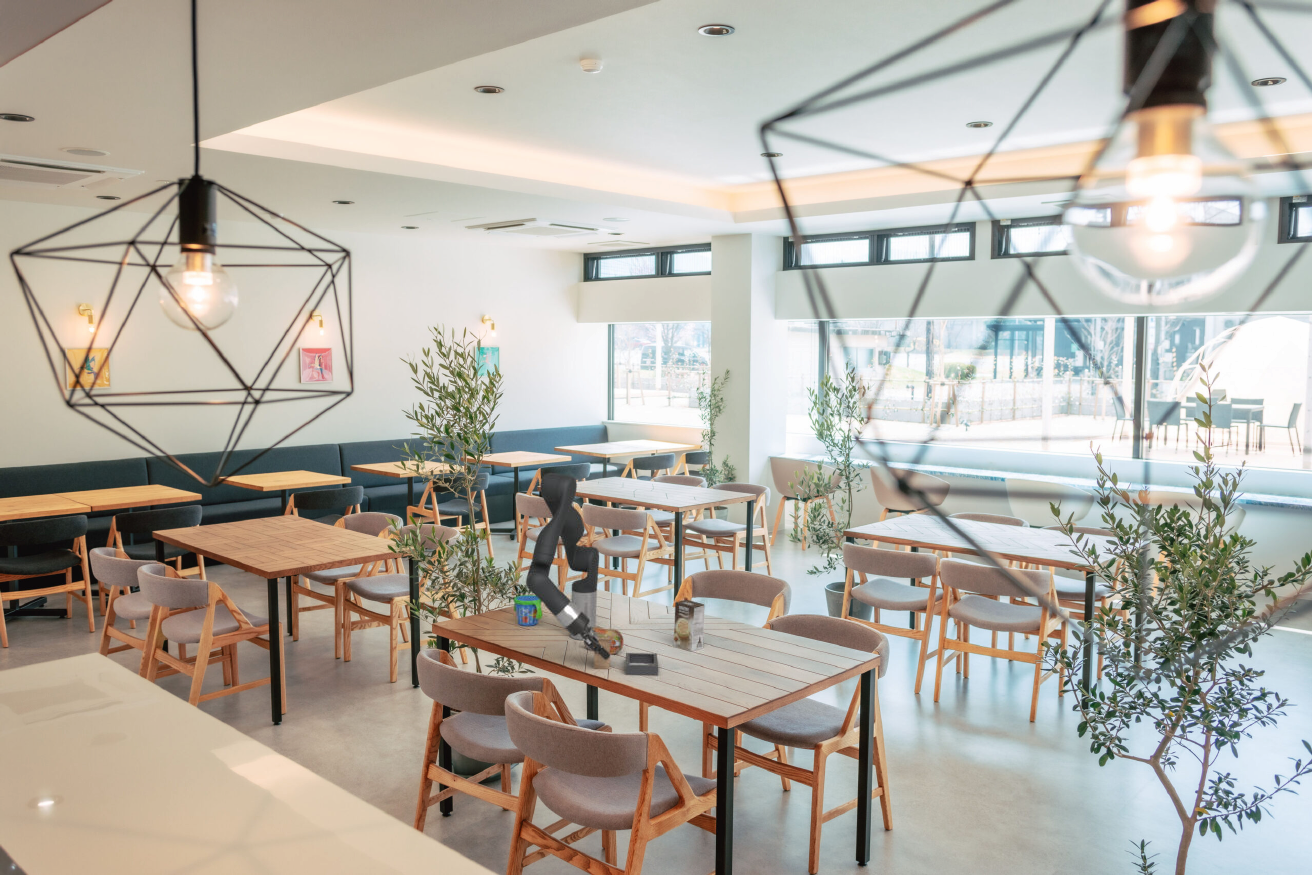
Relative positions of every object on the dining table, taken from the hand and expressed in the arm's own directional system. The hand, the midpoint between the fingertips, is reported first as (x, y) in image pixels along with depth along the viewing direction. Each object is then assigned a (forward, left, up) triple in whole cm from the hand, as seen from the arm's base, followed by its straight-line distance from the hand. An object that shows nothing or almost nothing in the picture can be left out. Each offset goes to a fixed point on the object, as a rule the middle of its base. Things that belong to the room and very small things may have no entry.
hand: (608, 655), depth 301 cm
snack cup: (-52, -32, -4) cm, 61 cm away
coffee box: (-26, +28, -4) cm, 38 cm away
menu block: (0, -2, -4) cm, 5 cm away
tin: (-18, -2, -4) cm, 19 cm away
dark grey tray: (0, +11, -4) cm, 12 cm away
